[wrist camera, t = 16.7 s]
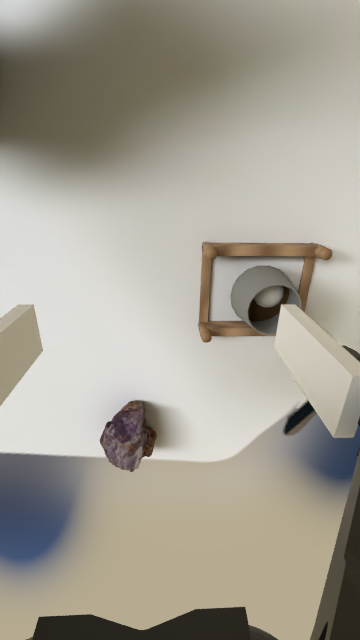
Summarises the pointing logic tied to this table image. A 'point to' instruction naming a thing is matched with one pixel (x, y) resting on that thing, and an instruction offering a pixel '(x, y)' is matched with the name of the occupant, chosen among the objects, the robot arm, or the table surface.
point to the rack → (251, 249)
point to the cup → (263, 297)
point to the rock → (128, 437)
